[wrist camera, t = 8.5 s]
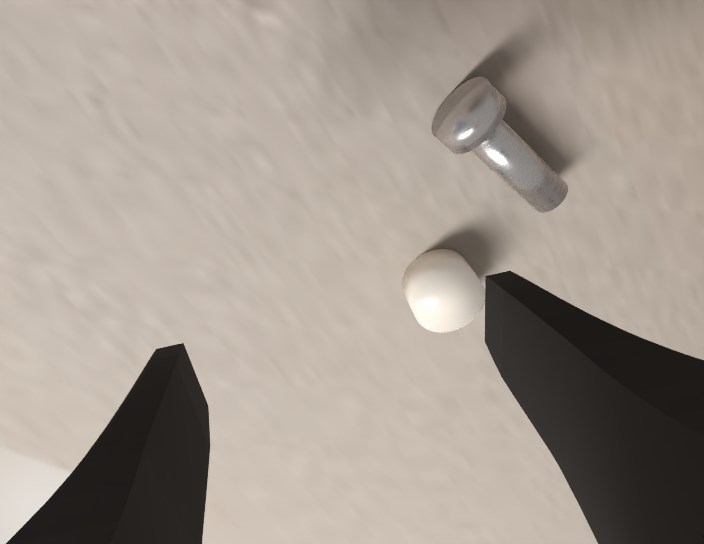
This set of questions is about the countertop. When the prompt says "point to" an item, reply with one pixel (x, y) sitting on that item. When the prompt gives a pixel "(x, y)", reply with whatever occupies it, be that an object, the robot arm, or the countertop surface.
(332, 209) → the countertop surface
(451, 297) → the white rounded knob
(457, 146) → the bolt
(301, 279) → the countertop surface
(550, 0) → the countertop surface
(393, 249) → the countertop surface
